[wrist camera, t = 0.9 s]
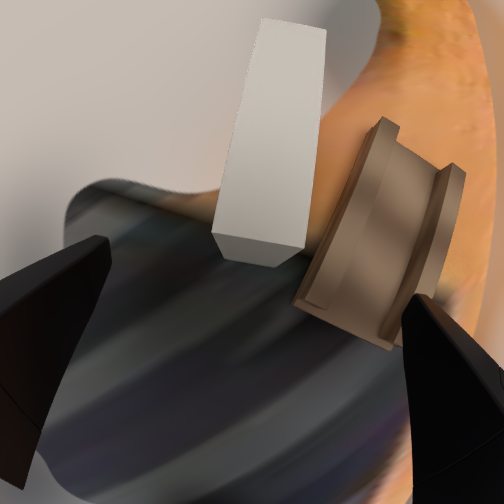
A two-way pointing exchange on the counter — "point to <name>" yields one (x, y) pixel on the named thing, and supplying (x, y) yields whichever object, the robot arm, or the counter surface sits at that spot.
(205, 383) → the counter surface
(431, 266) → the flanged channel block
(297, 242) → the clay slab
